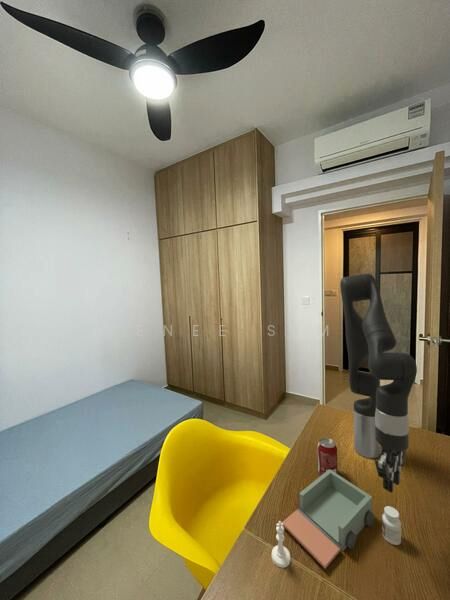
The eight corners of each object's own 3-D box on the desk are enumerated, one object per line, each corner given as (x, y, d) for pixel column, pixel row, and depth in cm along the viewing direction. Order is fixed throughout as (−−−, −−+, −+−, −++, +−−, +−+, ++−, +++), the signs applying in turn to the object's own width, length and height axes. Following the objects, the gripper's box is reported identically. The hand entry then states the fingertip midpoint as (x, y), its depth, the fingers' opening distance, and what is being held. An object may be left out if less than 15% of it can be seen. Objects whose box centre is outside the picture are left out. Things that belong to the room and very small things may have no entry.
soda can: (339, 481, 88) (339, 449, 87) (319, 478, 90) (318, 447, 89) (335, 467, 95) (334, 437, 94) (316, 465, 96) (315, 435, 95)
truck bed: (326, 484, 87) (326, 467, 87) (376, 519, 74) (376, 499, 73) (296, 509, 78) (296, 490, 78) (347, 555, 65) (347, 532, 64)
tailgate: (298, 507, 77) (282, 522, 72) (341, 546, 65) (325, 565, 61) (298, 510, 77) (282, 525, 73) (341, 549, 65) (325, 569, 61)
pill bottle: (383, 526, 72) (383, 501, 71) (401, 535, 69) (401, 509, 68) (381, 539, 68) (380, 513, 68) (400, 549, 66) (400, 522, 65)
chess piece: (269, 548, 67) (268, 514, 67) (286, 545, 68) (285, 511, 67) (274, 569, 62) (273, 532, 62) (293, 566, 63) (292, 529, 62)
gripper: (387, 411, 73) (387, 466, 75) (363, 429, 65) (364, 490, 67) (418, 422, 67) (417, 482, 68) (396, 443, 59) (395, 511, 60)
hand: (391, 486), depth 68 cm, fingers open, 3 cm apart
